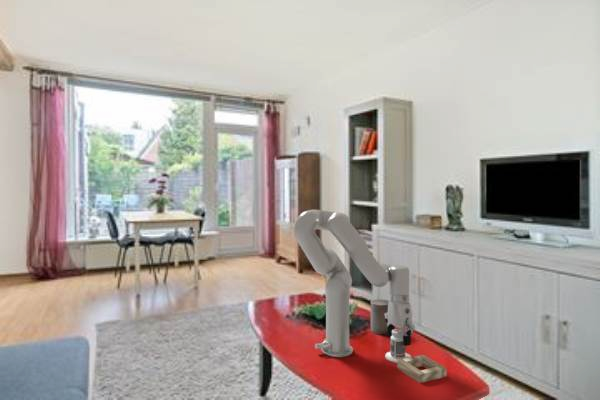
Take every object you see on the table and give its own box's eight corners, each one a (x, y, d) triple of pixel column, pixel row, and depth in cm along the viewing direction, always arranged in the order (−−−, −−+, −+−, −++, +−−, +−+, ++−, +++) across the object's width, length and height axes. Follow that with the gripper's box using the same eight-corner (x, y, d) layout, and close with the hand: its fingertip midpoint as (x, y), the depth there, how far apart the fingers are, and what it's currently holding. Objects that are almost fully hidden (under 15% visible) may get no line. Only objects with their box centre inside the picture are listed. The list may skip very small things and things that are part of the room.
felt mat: (396, 365, 143) (396, 363, 143) (380, 354, 152) (380, 353, 152) (417, 360, 147) (417, 359, 147) (400, 350, 156) (400, 349, 156)
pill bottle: (407, 355, 151) (407, 330, 151) (402, 360, 146) (403, 334, 146) (393, 351, 154) (393, 327, 154) (388, 356, 149) (388, 331, 149)
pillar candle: (395, 330, 179) (395, 299, 179) (384, 336, 172) (384, 303, 172) (377, 326, 186) (377, 295, 186) (366, 331, 179) (366, 299, 179)
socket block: (419, 383, 130) (419, 374, 130) (397, 368, 141) (397, 360, 141) (446, 376, 135) (446, 368, 135) (422, 362, 146) (422, 354, 146)
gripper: (422, 302, 143) (421, 347, 143) (393, 291, 159) (392, 331, 159) (405, 304, 140) (405, 350, 140) (378, 293, 156) (377, 334, 156)
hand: (398, 340), depth 150 cm, fingers open, 9 cm apart
